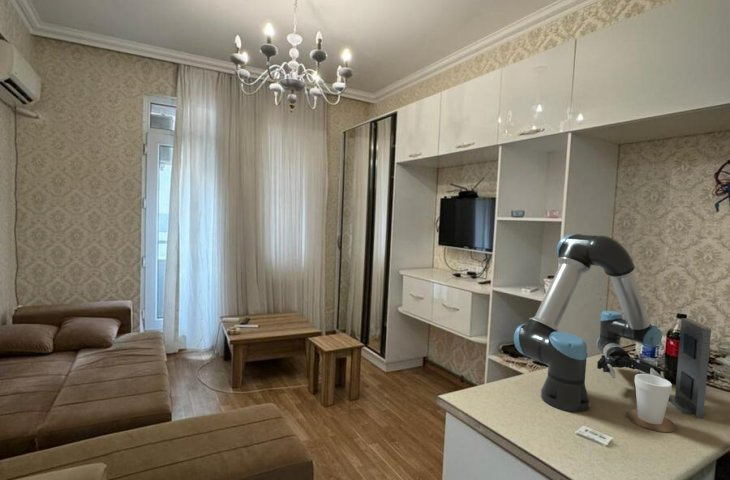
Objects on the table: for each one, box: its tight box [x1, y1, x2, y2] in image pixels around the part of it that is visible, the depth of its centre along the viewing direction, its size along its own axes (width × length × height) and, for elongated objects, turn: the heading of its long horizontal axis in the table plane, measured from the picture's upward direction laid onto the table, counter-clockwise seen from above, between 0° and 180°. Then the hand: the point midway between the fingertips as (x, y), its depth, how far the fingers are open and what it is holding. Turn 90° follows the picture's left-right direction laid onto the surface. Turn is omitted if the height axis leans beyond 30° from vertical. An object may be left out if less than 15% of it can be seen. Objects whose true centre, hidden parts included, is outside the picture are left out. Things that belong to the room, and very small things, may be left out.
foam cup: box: [634, 373, 673, 424], centre depth 121 cm, size 10×9×13 cm
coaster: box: [625, 408, 677, 433], centre depth 121 cm, size 13×13×1 cm
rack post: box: [668, 317, 712, 419], centre depth 130 cm, size 5×14×30 cm, turn 163°
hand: (636, 376), depth 133 cm, fingers open, 13 cm apart
